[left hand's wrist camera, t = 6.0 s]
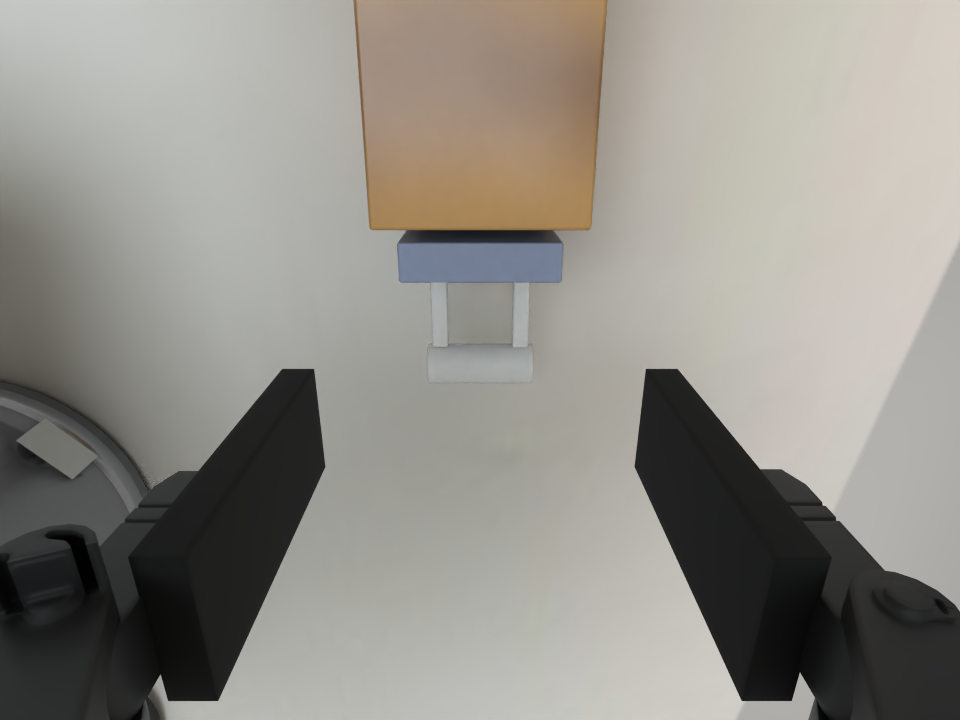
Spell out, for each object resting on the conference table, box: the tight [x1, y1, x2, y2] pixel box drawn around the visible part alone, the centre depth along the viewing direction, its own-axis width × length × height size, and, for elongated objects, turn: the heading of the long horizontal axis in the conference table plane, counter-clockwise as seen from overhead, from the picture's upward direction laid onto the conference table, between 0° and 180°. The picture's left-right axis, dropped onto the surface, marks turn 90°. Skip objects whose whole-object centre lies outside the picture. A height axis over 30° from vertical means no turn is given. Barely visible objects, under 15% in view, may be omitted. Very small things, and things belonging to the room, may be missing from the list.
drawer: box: [397, 230, 563, 383], centre depth 19 cm, size 24×5×8 cm, turn 0°
